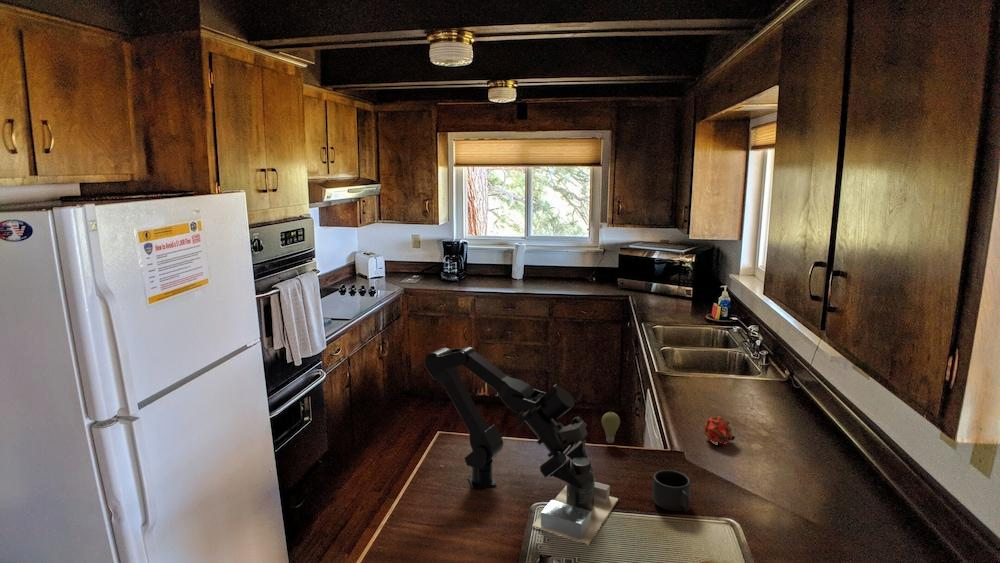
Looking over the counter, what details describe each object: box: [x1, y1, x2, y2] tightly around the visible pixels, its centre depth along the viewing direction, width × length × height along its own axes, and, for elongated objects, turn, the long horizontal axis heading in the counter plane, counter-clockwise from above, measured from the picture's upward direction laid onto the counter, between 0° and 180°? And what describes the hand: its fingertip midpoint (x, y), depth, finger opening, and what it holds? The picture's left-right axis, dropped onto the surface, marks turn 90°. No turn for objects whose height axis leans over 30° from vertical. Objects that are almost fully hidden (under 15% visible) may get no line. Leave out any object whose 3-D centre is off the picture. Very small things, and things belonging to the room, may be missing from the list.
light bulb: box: [601, 411, 621, 444], centre depth 176 cm, size 6×6×10 cm
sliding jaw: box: [540, 499, 591, 538], centre depth 133 cm, size 6×10×4 cm, turn 61°
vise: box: [531, 481, 619, 546], centre depth 139 cm, size 21×14×4 cm, turn 151°
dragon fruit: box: [703, 415, 736, 445], centre depth 177 cm, size 8×8×12 cm
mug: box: [651, 469, 692, 512], centre depth 141 cm, size 12×9×7 cm
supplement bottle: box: [566, 457, 596, 511], centre depth 140 cm, size 7×7×12 cm
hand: (586, 479), depth 139 cm, fingers open, 8 cm apart
